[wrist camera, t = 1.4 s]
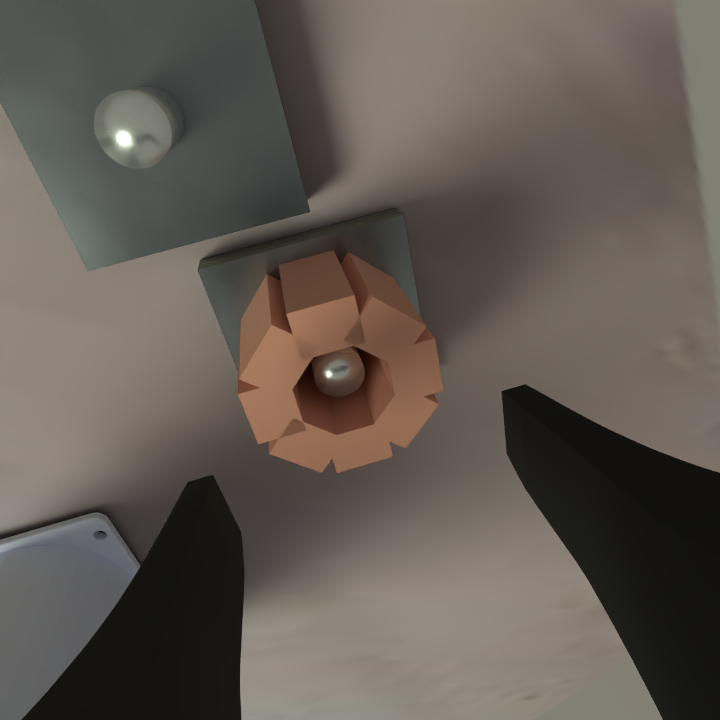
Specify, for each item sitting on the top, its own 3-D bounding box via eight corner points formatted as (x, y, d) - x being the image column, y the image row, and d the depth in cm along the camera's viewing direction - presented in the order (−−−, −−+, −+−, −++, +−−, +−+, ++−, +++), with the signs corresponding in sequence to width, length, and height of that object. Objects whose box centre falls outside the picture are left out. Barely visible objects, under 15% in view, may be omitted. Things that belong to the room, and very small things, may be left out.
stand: (425, 372, 22) (458, 429, 18) (262, 419, 21) (265, 486, 18) (396, 207, 18) (430, 240, 15) (200, 260, 18) (188, 306, 14)
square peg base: (305, 201, 18) (322, 239, 14) (99, 255, 17) (56, 310, 13) (236, -59, 14) (233, -106, 10) (-26, 4, 14) (-134, -22, 10)
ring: (417, 377, 21) (451, 439, 17) (272, 419, 20) (277, 490, 17) (390, 234, 18) (425, 275, 14) (220, 281, 17) (212, 334, 14)
